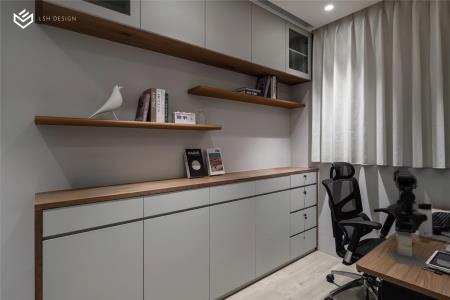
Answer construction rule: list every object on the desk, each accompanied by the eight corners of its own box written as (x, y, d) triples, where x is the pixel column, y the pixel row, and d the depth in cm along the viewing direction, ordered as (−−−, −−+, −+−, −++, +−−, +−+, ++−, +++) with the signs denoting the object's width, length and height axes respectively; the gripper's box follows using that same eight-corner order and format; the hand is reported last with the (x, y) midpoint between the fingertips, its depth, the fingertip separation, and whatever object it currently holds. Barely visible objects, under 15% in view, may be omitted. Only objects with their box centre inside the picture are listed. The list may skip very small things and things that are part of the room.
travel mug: (427, 239, 139) (427, 204, 140) (416, 235, 146) (415, 202, 146) (435, 237, 141) (434, 203, 141) (423, 234, 147) (422, 201, 148)
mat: (388, 250, 125) (388, 249, 125) (417, 254, 120) (417, 253, 120) (396, 264, 110) (396, 263, 110) (429, 269, 105) (429, 267, 105)
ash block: (397, 251, 123) (396, 231, 123) (408, 252, 121) (408, 232, 121) (399, 254, 118) (399, 234, 119) (412, 256, 116) (411, 235, 116)
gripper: (377, 195, 130) (378, 224, 130) (404, 204, 111) (405, 237, 111) (398, 194, 130) (398, 223, 130) (428, 202, 111) (428, 236, 112)
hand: (406, 229), depth 121 cm, fingers open, 9 cm apart
